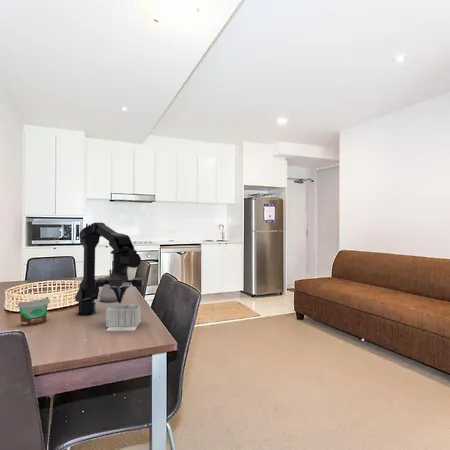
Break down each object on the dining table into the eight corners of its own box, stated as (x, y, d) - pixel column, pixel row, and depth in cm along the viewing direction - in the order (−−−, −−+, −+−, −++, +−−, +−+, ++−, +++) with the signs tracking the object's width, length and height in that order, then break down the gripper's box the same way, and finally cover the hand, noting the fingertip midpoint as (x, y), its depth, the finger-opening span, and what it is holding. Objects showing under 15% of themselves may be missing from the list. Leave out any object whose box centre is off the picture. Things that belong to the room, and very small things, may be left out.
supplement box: (110, 304, 137) (140, 304, 139) (109, 321, 137) (140, 321, 138) (106, 308, 130) (138, 308, 131) (105, 327, 130) (137, 326, 131)
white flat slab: (106, 331, 127) (106, 329, 127) (115, 321, 140) (115, 319, 140) (134, 330, 128) (134, 329, 128) (141, 320, 141) (141, 319, 141)
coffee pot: (121, 302, 173) (122, 274, 173) (98, 303, 169) (99, 275, 169) (120, 293, 193) (120, 268, 193) (100, 295, 189) (100, 269, 189)
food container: (25, 329, 128) (25, 304, 128) (17, 326, 132) (17, 301, 131) (55, 321, 139) (55, 298, 139) (47, 318, 142) (47, 296, 142)
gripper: (90, 268, 125) (90, 308, 125) (139, 268, 126) (139, 307, 126) (99, 264, 136) (99, 301, 136) (144, 264, 137) (144, 301, 137)
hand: (119, 302), depth 134 cm, fingers closed
